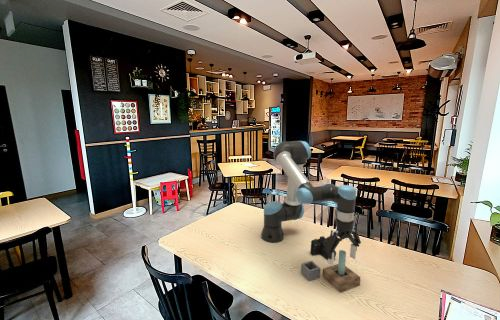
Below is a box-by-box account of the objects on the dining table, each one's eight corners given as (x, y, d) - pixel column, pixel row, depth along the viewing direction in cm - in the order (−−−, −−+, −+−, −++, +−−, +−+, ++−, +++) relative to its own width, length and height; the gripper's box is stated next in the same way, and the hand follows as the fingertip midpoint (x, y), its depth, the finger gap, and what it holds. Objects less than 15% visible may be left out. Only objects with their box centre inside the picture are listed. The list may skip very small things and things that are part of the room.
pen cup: (300, 274, 119) (301, 263, 118) (311, 271, 121) (311, 260, 120) (308, 282, 113) (309, 271, 112) (319, 279, 115) (320, 268, 114)
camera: (318, 263, 128) (319, 246, 126) (308, 253, 138) (309, 237, 136) (340, 259, 132) (341, 242, 130) (328, 249, 142) (329, 234, 140)
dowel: (335, 281, 114) (337, 251, 111) (340, 279, 115) (342, 249, 112) (340, 285, 111) (342, 254, 108) (345, 283, 112) (347, 252, 110)
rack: (322, 277, 116) (322, 268, 115) (340, 271, 121) (341, 262, 120) (340, 294, 105) (340, 284, 105) (359, 286, 110) (360, 277, 109)
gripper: (329, 227, 99) (326, 272, 103) (371, 217, 109) (367, 259, 113) (317, 220, 106) (315, 262, 110) (358, 211, 116) (355, 251, 119)
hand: (341, 261), depth 111 cm, fingers open, 13 cm apart
